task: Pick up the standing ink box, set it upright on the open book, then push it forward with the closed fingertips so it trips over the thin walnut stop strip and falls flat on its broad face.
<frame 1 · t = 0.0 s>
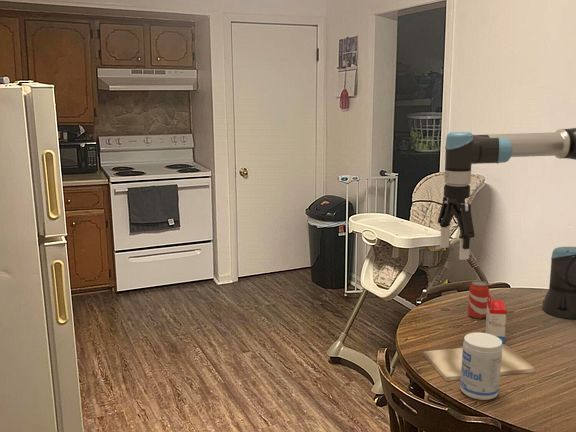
hand: (453, 253, 177), 28 cm above the table, fingers open, 13 cm apart
supplement tub: (479, 392, 151), on the table
open book: (477, 363, 166), on the table
beverage can: (477, 316, 201), on the table
ink box: (494, 340, 182), on the table
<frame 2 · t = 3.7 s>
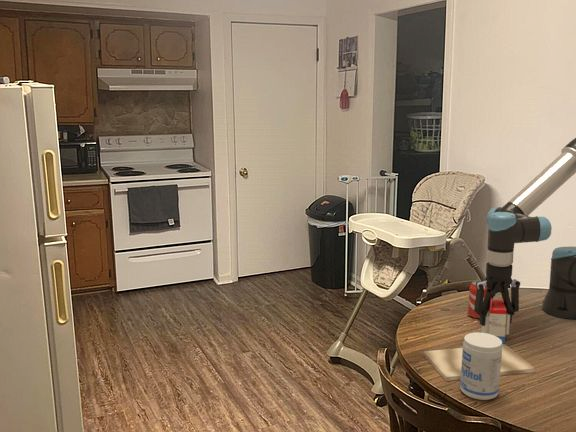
hand: (494, 333, 181), 2 cm above the table, fingers closed on ink box, 6 cm apart
ink box: (494, 340, 182), on the table, touching gripper
everything else where it was.
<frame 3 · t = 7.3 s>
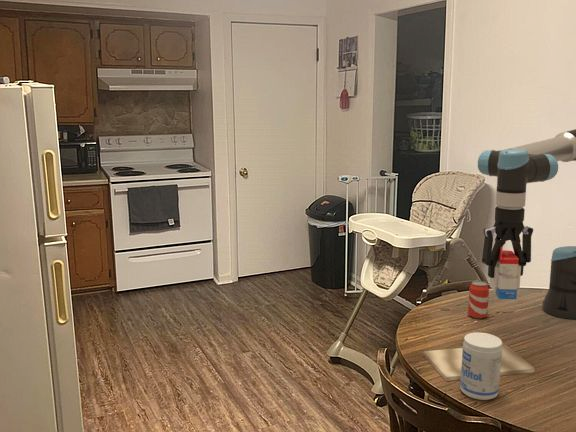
hand: (504, 287, 163), 22 cm above the table, fingers closed on ink box, 6 cm apart
ink box: (504, 295, 163), point 20 cm above the table, touching gripper
everything else where it was.
when the fingers open (4 cm above the table, at t = 10.7 s): ink box drops 1 cm, resting on open book.
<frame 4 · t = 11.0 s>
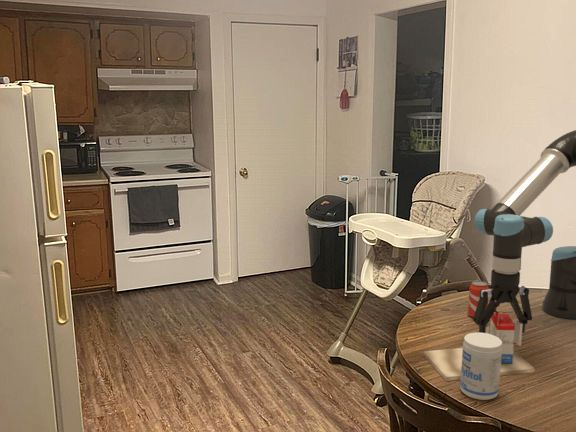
hand: (500, 344, 166), 5 cm above the table, fingers open, 9 cm apart
ink box: (500, 358, 167), point 1 cm above the table, touching open book
everything else where it was.
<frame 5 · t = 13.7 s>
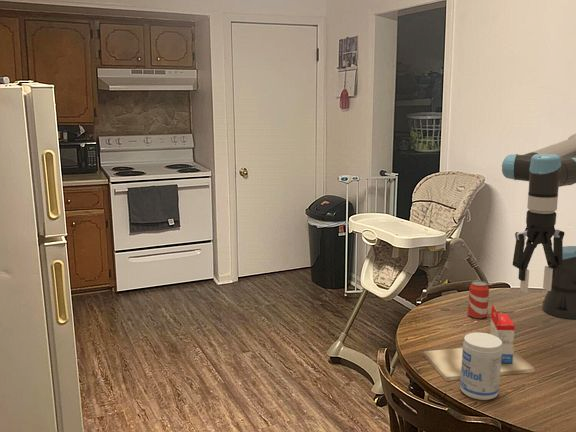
hand: (535, 290, 164), 21 cm above the table, fingers open, 6 cm apart
nothing on the table moved.
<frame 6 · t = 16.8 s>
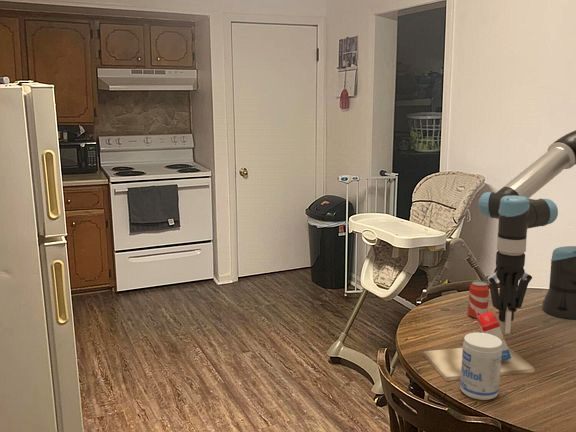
hand: (505, 331, 165), 9 cm above the table, fingers closed
ink box: (500, 355, 167), point 2 cm above the table, touching open book, gripper
everything else where it was.
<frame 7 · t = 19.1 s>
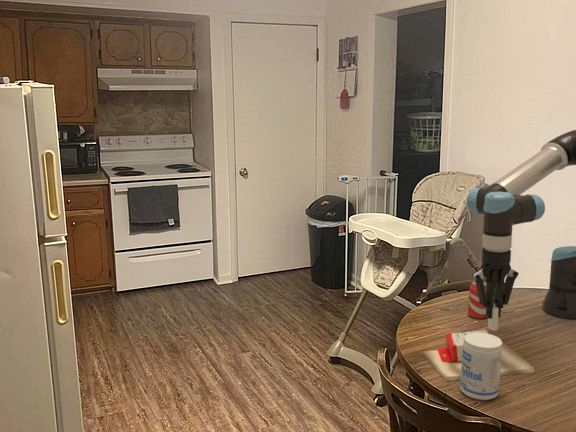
hand: (492, 328, 165), 10 cm above the table, fingers closed
ink box: (491, 343, 167), point 6 cm above the table, touching open book
everything else where it was.
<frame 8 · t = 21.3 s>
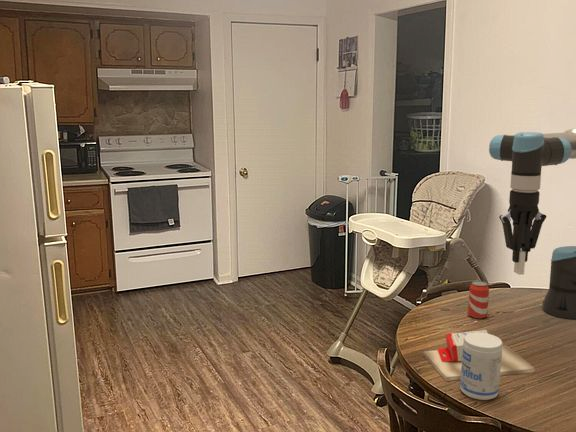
hand: (518, 272, 162), 26 cm above the table, fingers closed
nothing on the table moved.
at the end: ink box tilted 98°; ink box inside the target area (6.4 cm from its centre), point 5.5 cm above the table; the gripper is holding nothing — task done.
